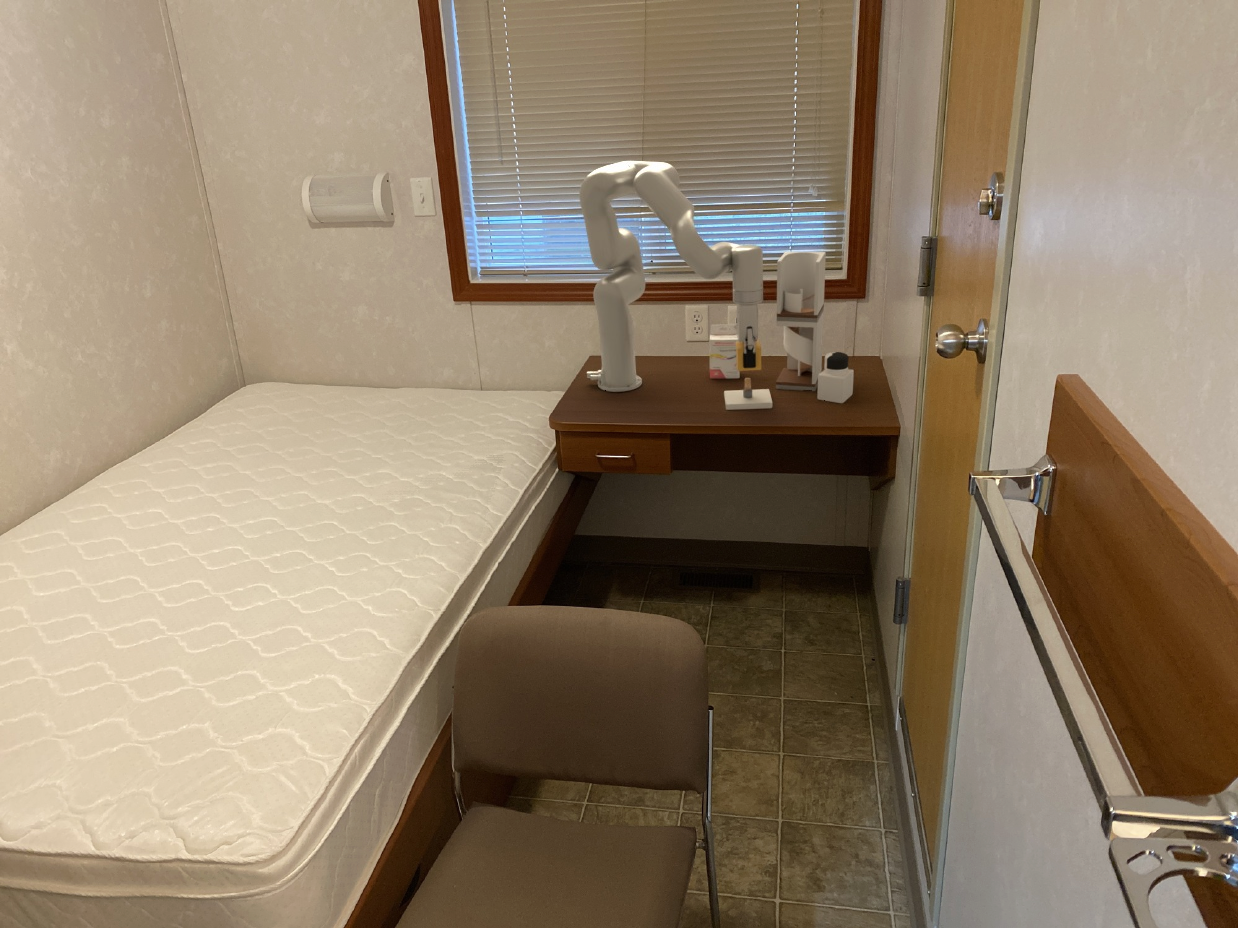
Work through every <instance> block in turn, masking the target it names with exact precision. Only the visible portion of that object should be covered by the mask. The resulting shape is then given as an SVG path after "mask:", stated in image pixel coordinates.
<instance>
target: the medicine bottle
mask: <svg viewBox="0 0 1238 928" xmlns="http://www.w3.org/2000/svg"><path fill="white" fill-rule="evenodd" d="M823 366H824V369H823V370H822V372H821V373H820V374H819V375H818V386H817V398H816V399H817V400H820V401H824V400H825V401H824V402H830V403H836V404H837V403H838V404H844V403H845V402H846V401H847V400H848V399H850V398H851V397H852V395H853V392H854V391H853V390H854V373H855V372H854V369H851V368H849V355H848V354H846V353H844V352H842V351H832V352H831V351H830V352H829V353H826V354H825V356H824V365H823Z"/></svg>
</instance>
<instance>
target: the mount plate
mask: <svg viewBox="0 0 1238 928" xmlns="http://www.w3.org/2000/svg"><path fill="white" fill-rule="evenodd" d="M723 391H724V392H723V396H724V397H723V398H724V404H725V410H726V411H728V410H729V411H730V410H731V411H733V410H734V411H735V410H755V409H756V410H757V409H772V408H773V400H772V395H771V392H770V389H769V388H766V389H765V388H762V389H761V388H760V389H753V388H752V378H751V377H745V378H744V388H743V389H739V390H736V389H735V390H723Z"/></svg>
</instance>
